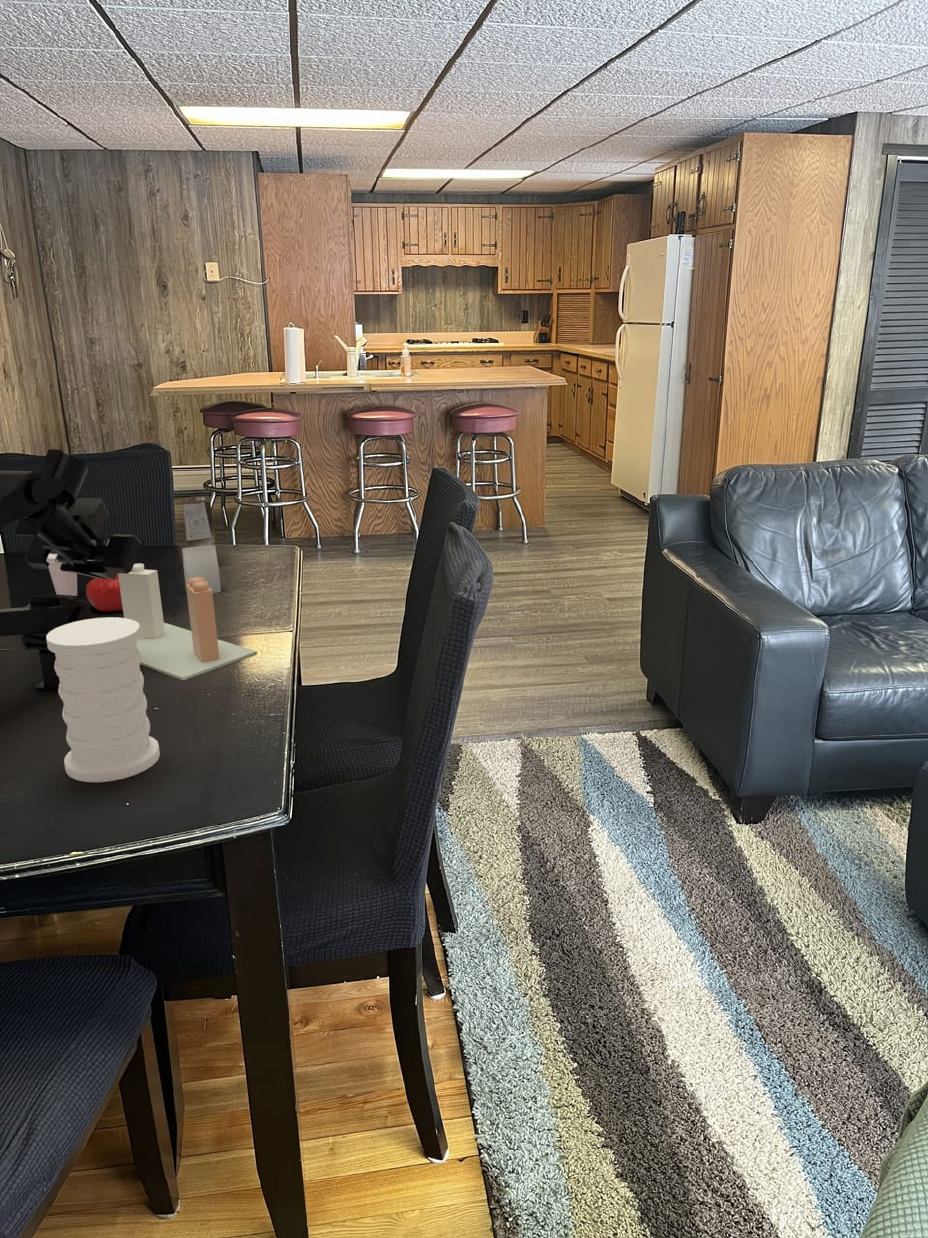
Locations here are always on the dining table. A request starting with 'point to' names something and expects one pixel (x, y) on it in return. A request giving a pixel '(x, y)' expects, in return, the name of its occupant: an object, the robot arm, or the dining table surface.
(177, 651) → the mat
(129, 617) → the tile one
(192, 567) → the pale grey upright block
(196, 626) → the orange rectangular block
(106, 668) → the decorative container
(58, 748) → the dining table surface
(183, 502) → the coffee box
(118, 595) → the red tomato
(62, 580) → the smoothie
